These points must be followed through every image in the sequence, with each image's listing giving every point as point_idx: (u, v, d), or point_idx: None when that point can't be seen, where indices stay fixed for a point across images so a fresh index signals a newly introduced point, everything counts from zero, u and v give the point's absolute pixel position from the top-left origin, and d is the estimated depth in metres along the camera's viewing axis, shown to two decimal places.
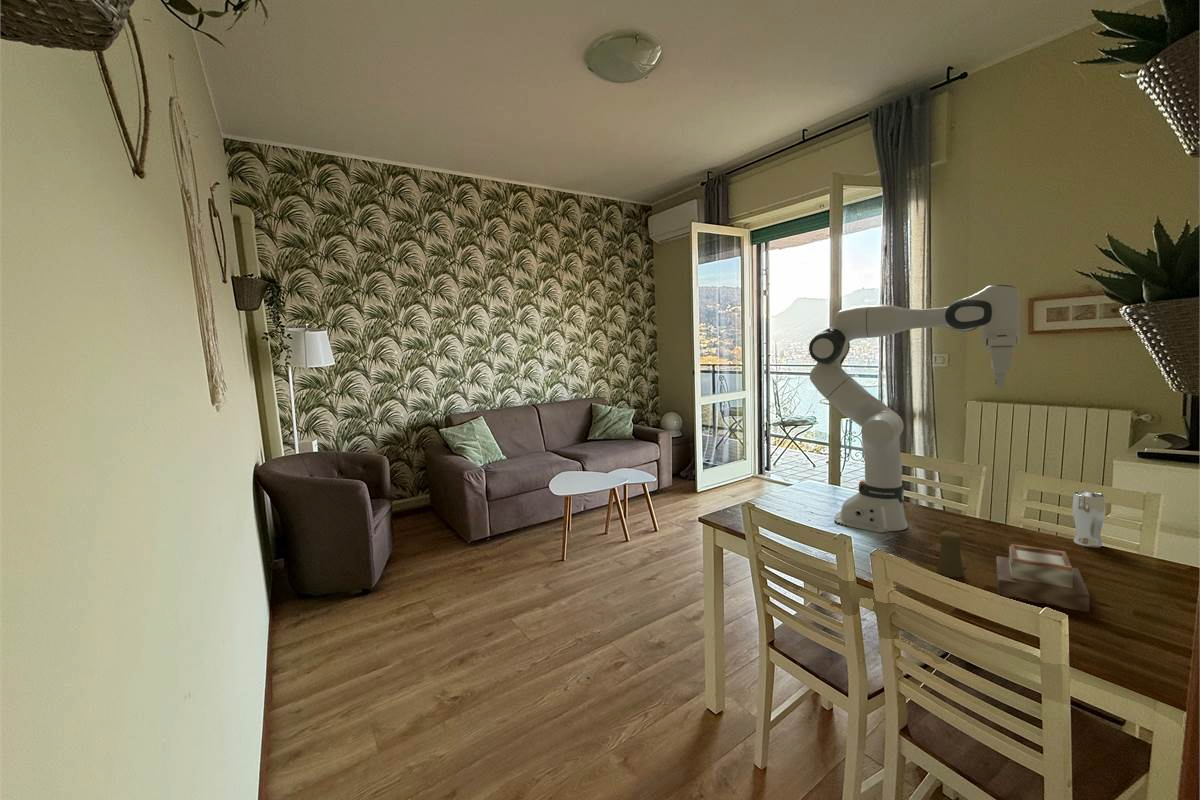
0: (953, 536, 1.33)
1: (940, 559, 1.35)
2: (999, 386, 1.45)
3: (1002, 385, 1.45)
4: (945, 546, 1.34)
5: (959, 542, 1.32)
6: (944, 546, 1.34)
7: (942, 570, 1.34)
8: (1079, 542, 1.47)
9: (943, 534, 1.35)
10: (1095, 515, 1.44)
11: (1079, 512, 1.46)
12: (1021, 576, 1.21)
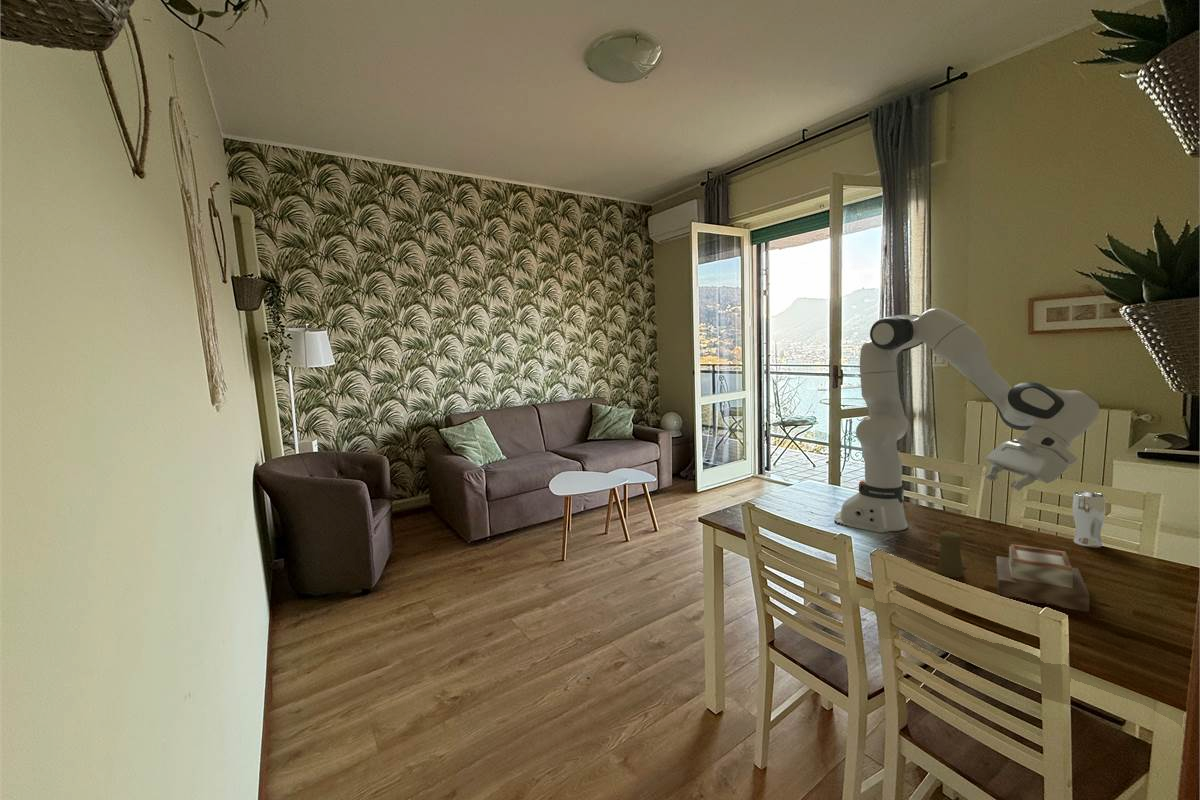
0: (953, 536, 1.33)
1: (940, 559, 1.35)
2: (1016, 487, 1.27)
3: (1019, 488, 1.27)
4: (945, 546, 1.34)
5: (959, 542, 1.32)
6: (944, 545, 1.34)
7: (942, 570, 1.34)
8: (1079, 542, 1.47)
9: (943, 534, 1.35)
10: (1095, 515, 1.44)
11: (1079, 512, 1.46)
12: (1021, 576, 1.21)
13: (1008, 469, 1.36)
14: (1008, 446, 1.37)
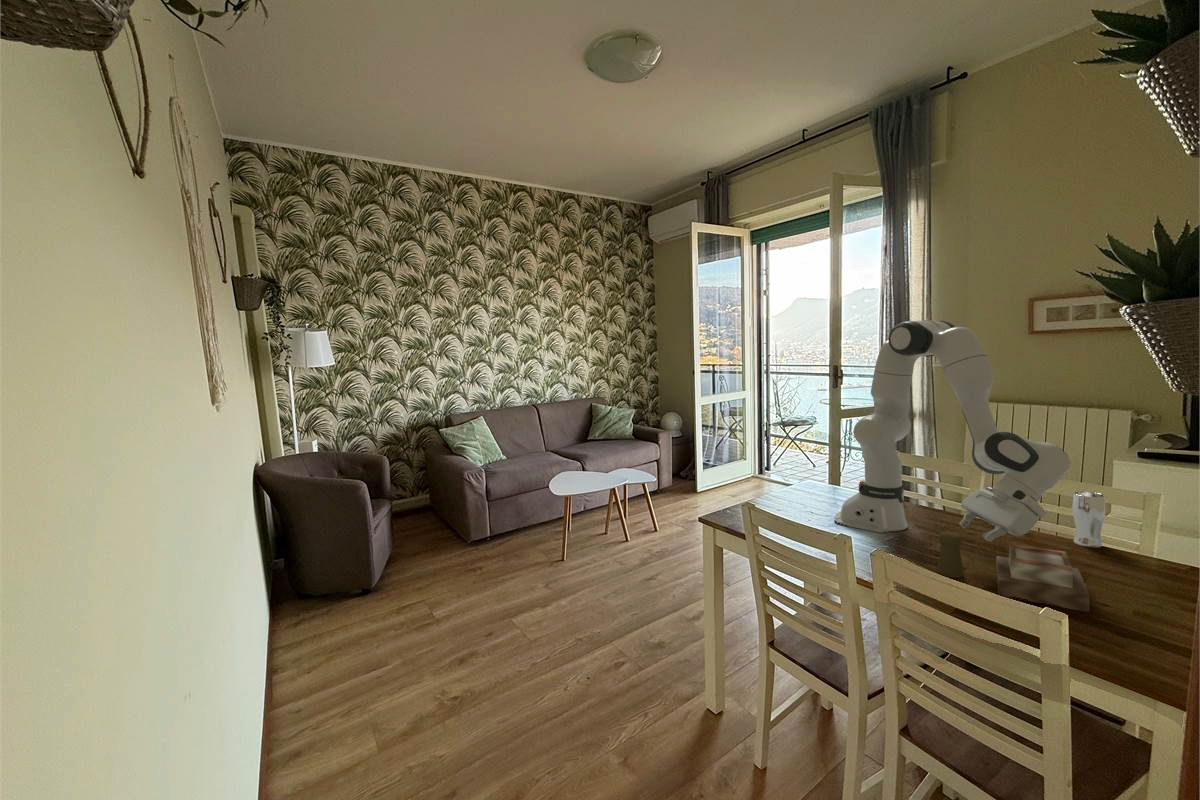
0: (952, 536, 1.33)
1: (940, 559, 1.35)
2: (988, 538, 1.29)
3: (991, 539, 1.29)
4: (945, 546, 1.34)
5: (959, 542, 1.32)
6: (944, 545, 1.34)
7: (942, 570, 1.34)
8: (1079, 542, 1.47)
9: (943, 534, 1.35)
10: (1095, 515, 1.44)
11: (1079, 512, 1.46)
12: (1021, 576, 1.21)
13: (981, 517, 1.37)
14: (982, 494, 1.39)
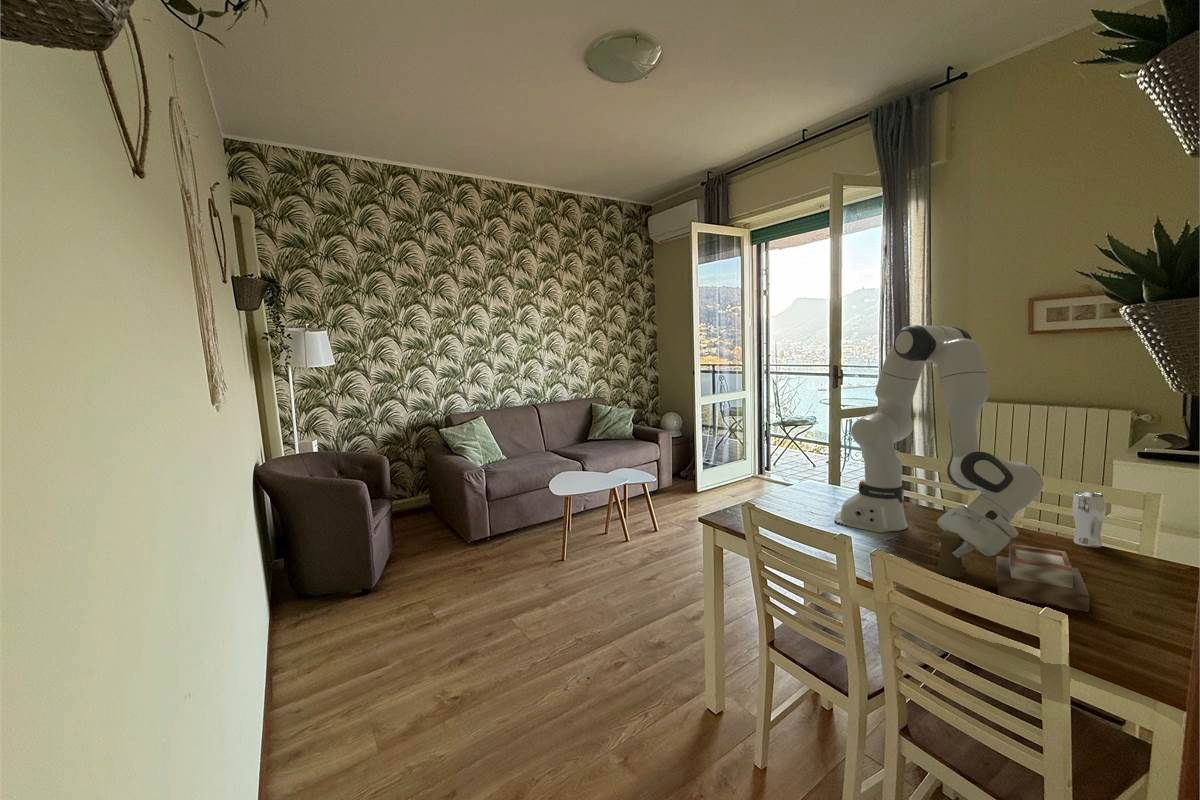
0: (953, 536, 1.33)
1: (940, 559, 1.35)
2: (956, 554, 1.32)
3: (959, 555, 1.32)
4: (945, 546, 1.34)
5: (959, 542, 1.32)
6: (944, 545, 1.34)
7: (943, 570, 1.34)
8: (1079, 542, 1.47)
9: (943, 534, 1.35)
10: (1095, 515, 1.44)
11: (1079, 512, 1.46)
12: (1021, 576, 1.21)
13: None
14: (957, 512, 1.40)
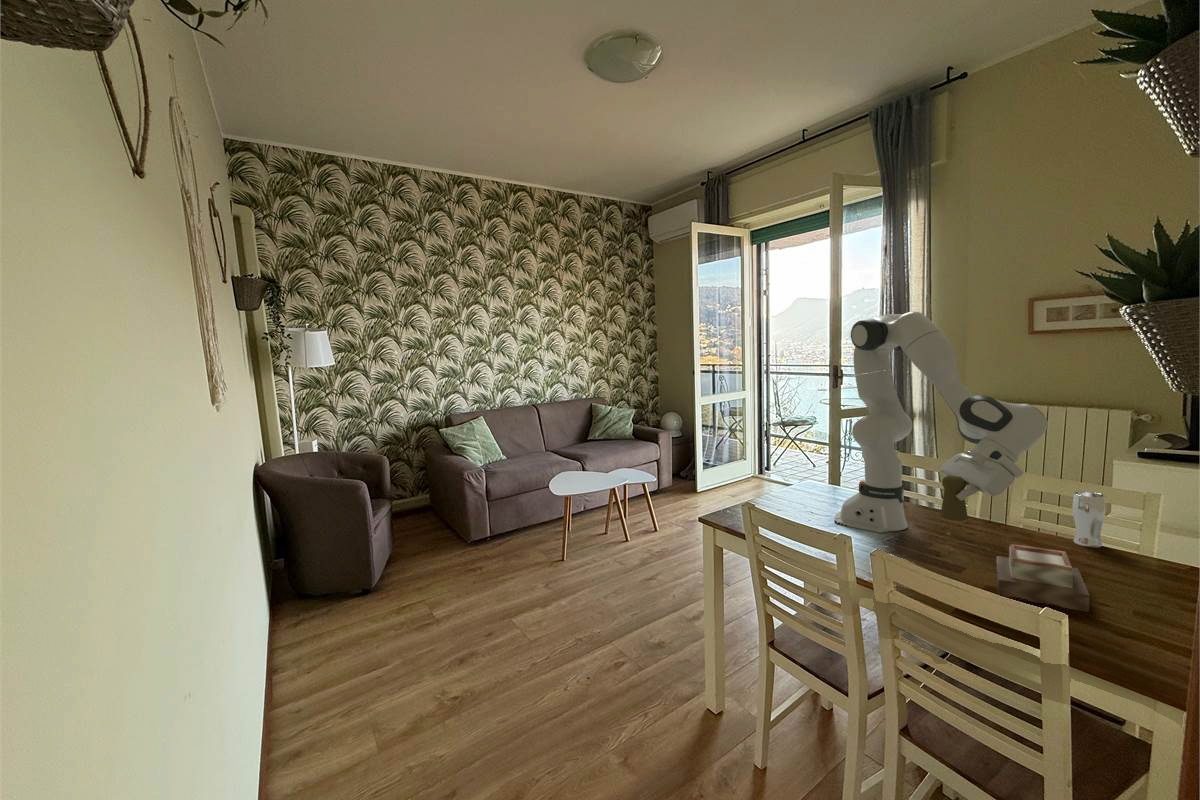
0: (956, 479, 1.31)
1: (944, 504, 1.33)
2: (959, 497, 1.30)
3: (962, 498, 1.30)
4: (949, 489, 1.32)
5: (963, 485, 1.30)
6: (948, 489, 1.32)
7: (946, 514, 1.32)
8: (1079, 542, 1.47)
9: (946, 478, 1.33)
10: (1095, 515, 1.44)
11: (1079, 512, 1.46)
12: (1021, 576, 1.21)
13: None
14: (961, 458, 1.38)
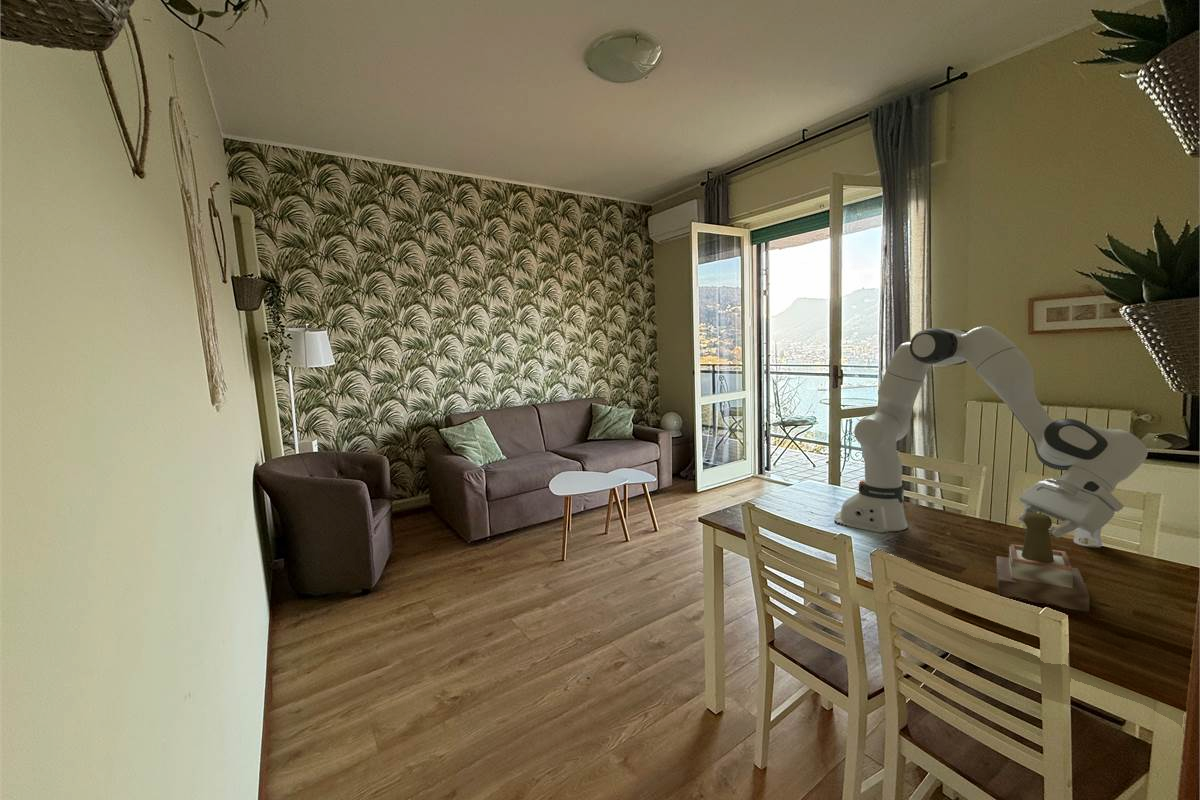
0: (1041, 517, 1.21)
1: (1026, 543, 1.23)
2: (1055, 534, 1.17)
3: (1059, 535, 1.17)
4: (1032, 528, 1.22)
5: (1049, 524, 1.20)
6: (1031, 528, 1.22)
7: (1030, 555, 1.22)
8: (1079, 542, 1.47)
9: (1030, 516, 1.23)
10: None
11: None
12: (1021, 576, 1.21)
13: (1044, 511, 1.26)
14: (1044, 486, 1.27)
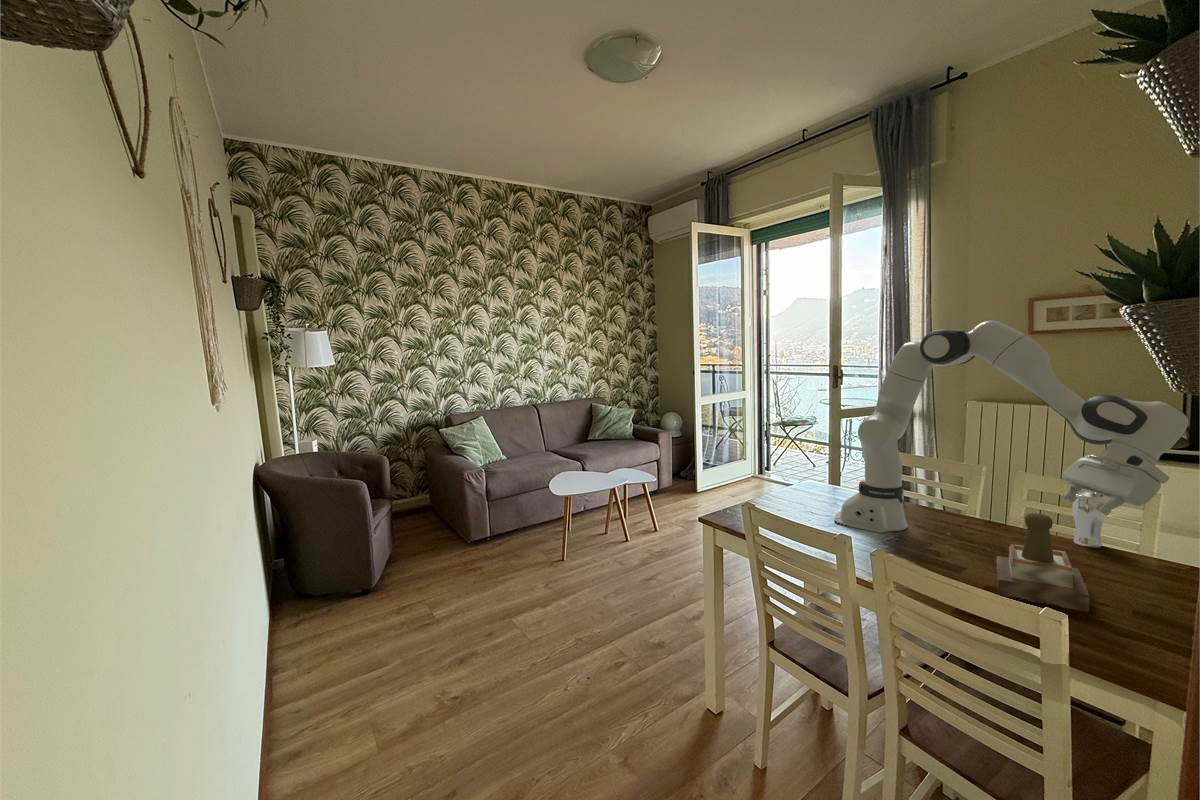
0: (1042, 518, 1.21)
1: (1026, 543, 1.23)
2: (1103, 510, 1.19)
3: (1106, 511, 1.18)
4: (1033, 529, 1.22)
5: (1050, 524, 1.20)
6: (1032, 528, 1.22)
7: (1030, 555, 1.22)
8: (1079, 542, 1.47)
9: (1030, 516, 1.22)
10: (1095, 515, 1.44)
11: (1079, 512, 1.46)
12: (1021, 576, 1.21)
13: (1088, 488, 1.27)
14: (1086, 463, 1.29)
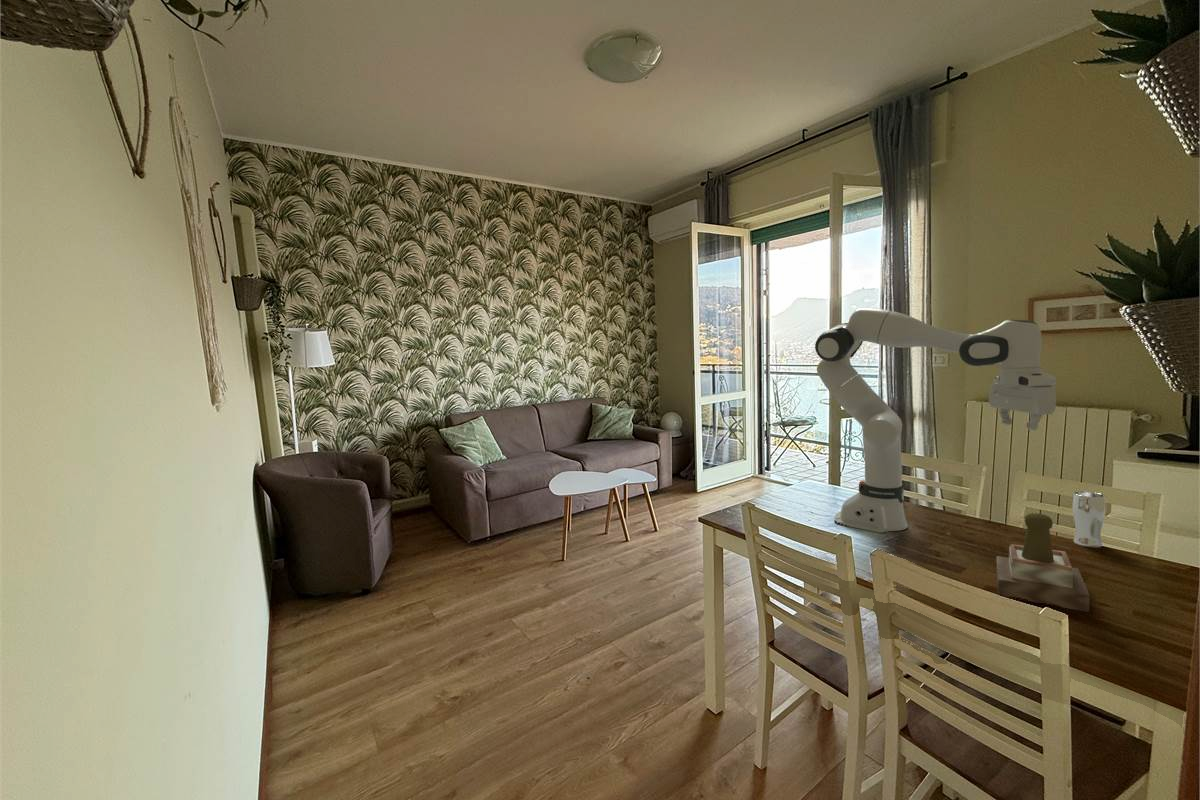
0: (1042, 518, 1.21)
1: (1026, 543, 1.23)
2: (1033, 428, 1.35)
3: (1036, 427, 1.35)
4: (1033, 529, 1.22)
5: (1050, 524, 1.20)
6: (1032, 528, 1.22)
7: (1030, 555, 1.22)
8: (1079, 542, 1.47)
9: (1030, 516, 1.22)
10: (1095, 515, 1.44)
11: (1079, 512, 1.46)
12: (1021, 576, 1.21)
13: None
14: (997, 388, 1.46)
